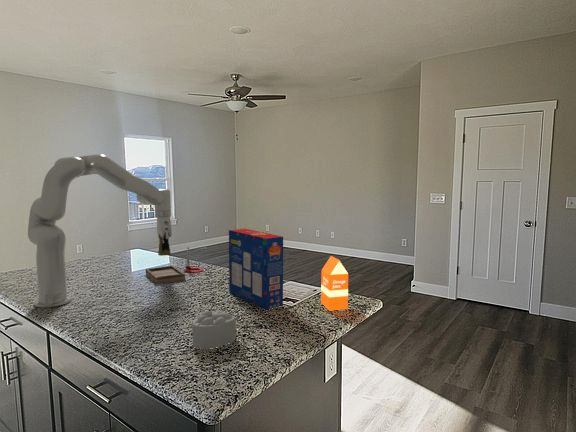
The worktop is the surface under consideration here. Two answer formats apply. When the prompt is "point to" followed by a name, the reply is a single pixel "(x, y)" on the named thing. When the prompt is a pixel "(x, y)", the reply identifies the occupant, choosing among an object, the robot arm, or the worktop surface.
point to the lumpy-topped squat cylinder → (213, 329)
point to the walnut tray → (165, 274)
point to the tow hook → (191, 267)
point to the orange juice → (334, 285)
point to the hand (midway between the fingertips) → (164, 249)
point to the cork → (160, 252)
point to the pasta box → (256, 267)
